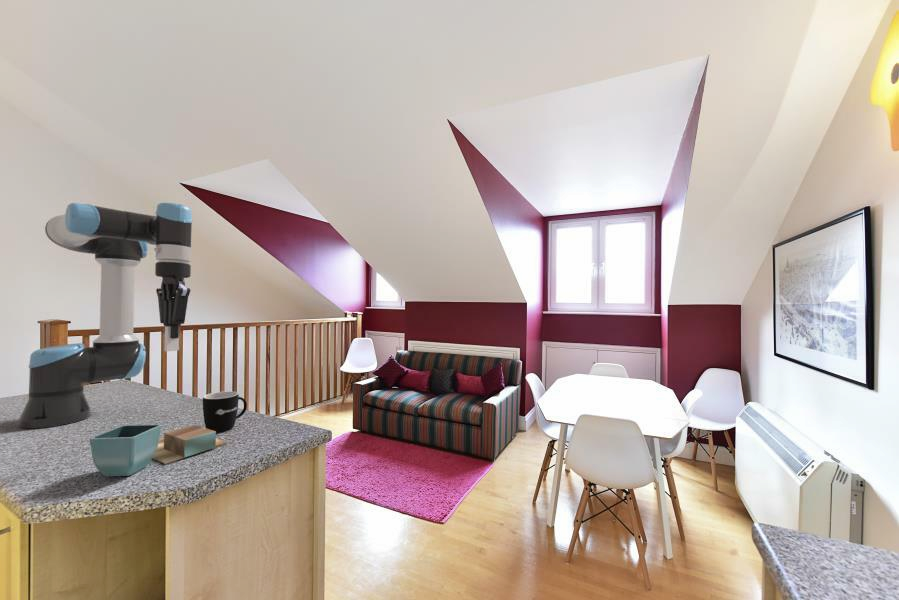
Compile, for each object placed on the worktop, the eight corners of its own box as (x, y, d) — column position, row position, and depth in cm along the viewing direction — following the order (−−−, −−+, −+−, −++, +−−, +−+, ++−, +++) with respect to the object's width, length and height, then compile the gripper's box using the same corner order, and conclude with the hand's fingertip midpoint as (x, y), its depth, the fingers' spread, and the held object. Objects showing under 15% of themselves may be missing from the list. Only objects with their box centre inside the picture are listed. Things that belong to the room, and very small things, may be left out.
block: (164, 432, 91) (185, 440, 86) (194, 424, 97) (215, 431, 92) (163, 448, 91) (184, 457, 86) (194, 439, 97) (215, 447, 92)
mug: (211, 437, 101) (212, 400, 101) (196, 430, 105) (196, 395, 106) (254, 425, 111) (254, 391, 111) (238, 419, 116) (239, 388, 116)
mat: (130, 448, 92) (130, 446, 92) (191, 431, 104) (191, 430, 104) (164, 464, 83) (164, 461, 83) (226, 444, 96) (226, 442, 96)
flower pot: (121, 463, 84) (122, 424, 84) (162, 462, 84) (162, 423, 85) (86, 482, 75) (87, 438, 75) (132, 480, 76) (133, 437, 76)
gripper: (145, 262, 97) (143, 350, 97) (169, 259, 91) (167, 354, 90) (177, 264, 104) (175, 347, 103) (201, 262, 97) (200, 350, 97)
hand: (171, 350), depth 97 cm, fingers closed
